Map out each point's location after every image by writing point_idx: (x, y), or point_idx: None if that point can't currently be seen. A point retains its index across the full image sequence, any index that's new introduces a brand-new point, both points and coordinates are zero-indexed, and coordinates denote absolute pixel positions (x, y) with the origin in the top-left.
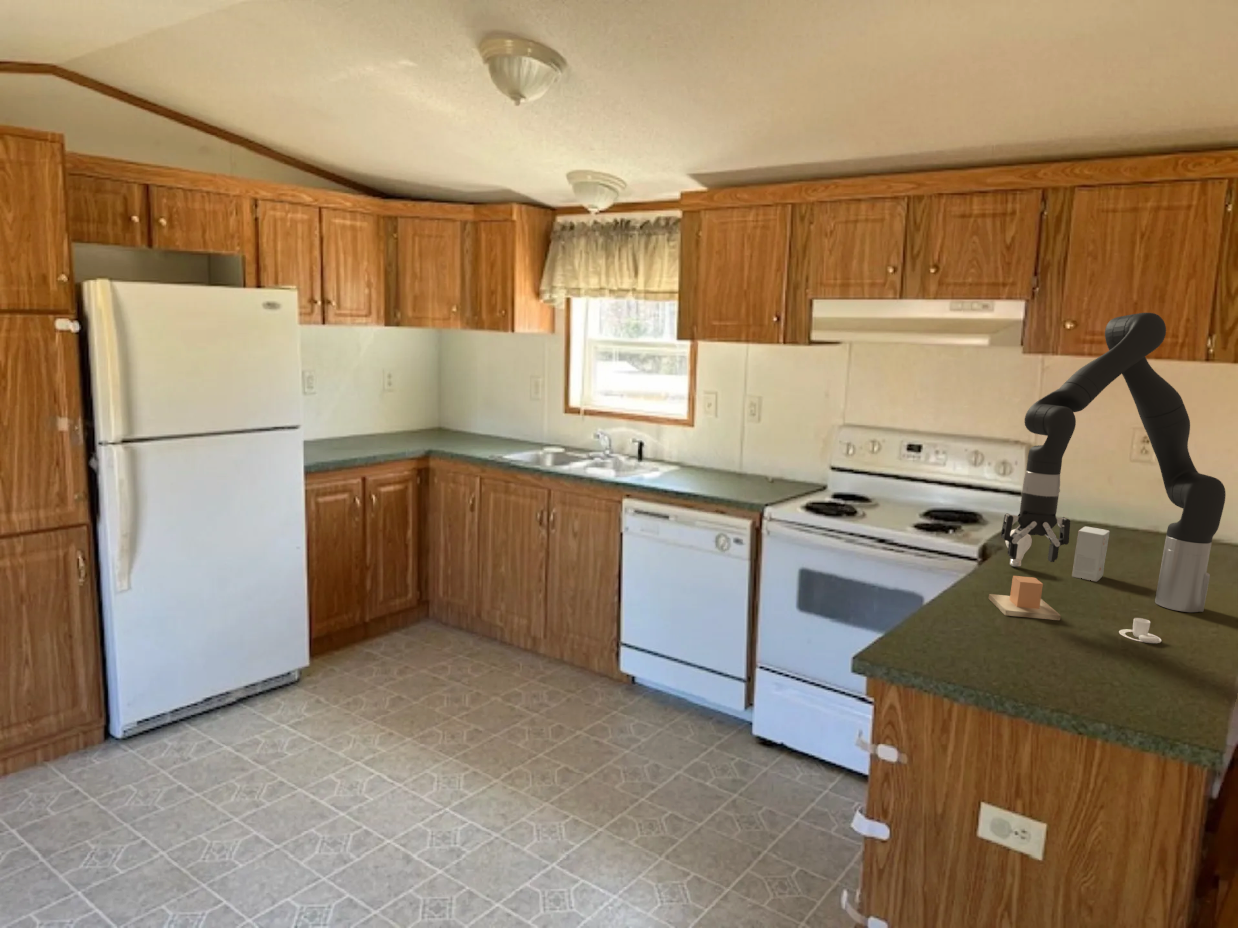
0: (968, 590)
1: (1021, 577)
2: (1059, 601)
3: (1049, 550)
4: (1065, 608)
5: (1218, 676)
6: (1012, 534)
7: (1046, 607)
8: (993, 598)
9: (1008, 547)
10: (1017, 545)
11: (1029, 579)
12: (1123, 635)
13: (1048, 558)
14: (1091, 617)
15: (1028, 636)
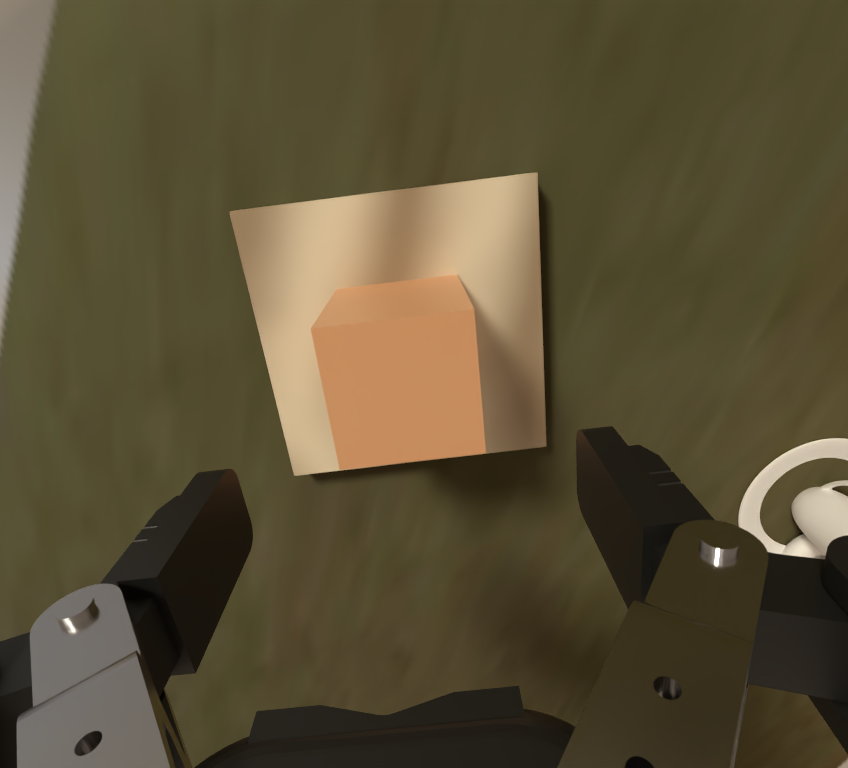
0: (117, 60)
1: (368, 352)
2: (675, 62)
3: (612, 495)
4: (650, 214)
5: (838, 746)
6: (42, 697)
7: (514, 346)
8: (250, 292)
9: (126, 558)
10: (198, 663)
11: (417, 381)
12: (741, 526)
13: (581, 445)
14: (726, 324)
15: (354, 655)
